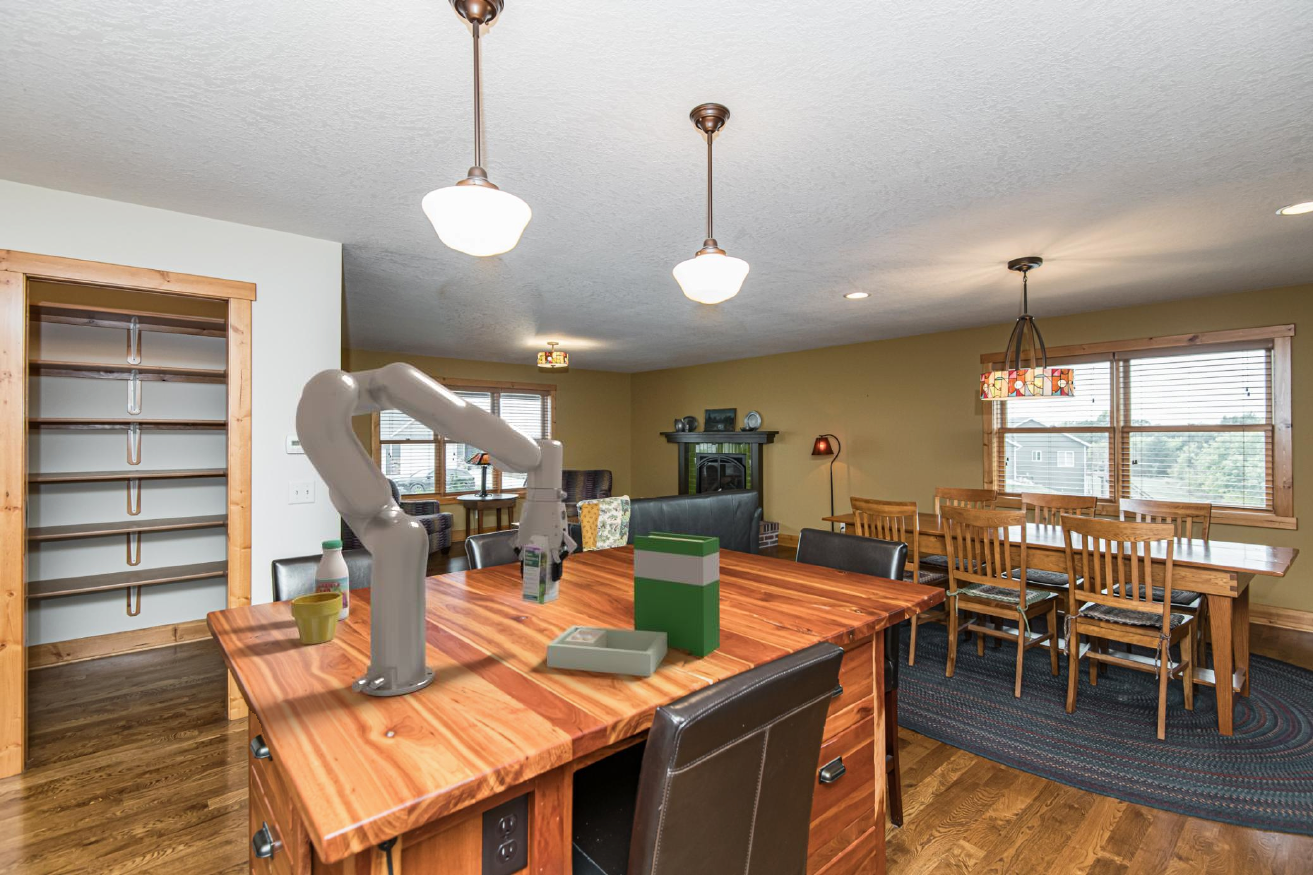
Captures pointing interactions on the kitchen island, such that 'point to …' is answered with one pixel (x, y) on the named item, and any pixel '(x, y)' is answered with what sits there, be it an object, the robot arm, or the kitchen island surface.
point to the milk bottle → (333, 574)
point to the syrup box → (538, 572)
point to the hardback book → (678, 590)
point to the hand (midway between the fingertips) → (541, 578)
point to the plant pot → (317, 616)
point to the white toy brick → (587, 638)
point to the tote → (611, 652)
